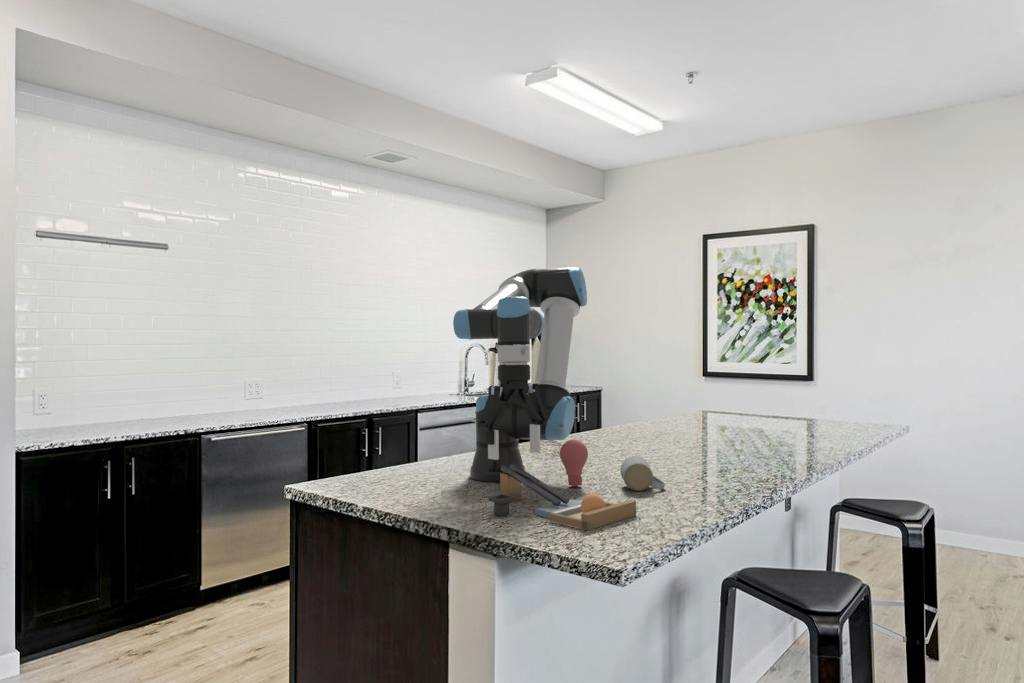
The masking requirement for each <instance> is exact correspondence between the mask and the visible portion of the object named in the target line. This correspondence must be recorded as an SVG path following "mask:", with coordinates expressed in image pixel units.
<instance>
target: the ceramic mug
mask: <svg viewBox="0 0 1024 683" xmlns="http://www.w3.org/2000/svg"><path fill="white" fill-rule="evenodd" d="M651 468H652V467H651V465H650V464H649V462H648V461H647V460H646V459H645V458H644V457H642V456H640V455H631V456H629V457H627V458H625V459H624V460H623V461H622V463H621V465H620V475H621V478H622V480H623V482H624V484H625V486H626V487H628V489H630V490H632V491H635V492H644V491H645V490H647V489H648V488H650V487H652V488H654V489H656V490H660V491H663V490H664V489H665V486H666V483H665V482H664V481H663V480H661V479H659V478H658V477H656V476H654V474H653V470H652V469H651Z"/></svg>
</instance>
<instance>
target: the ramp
mask: <svg viewBox="0 0 1024 683" xmlns="http://www.w3.org/2000/svg"><path fill="white" fill-rule="evenodd" d="M501 470H502V471H503V472H504V473H500V482H499V483H500V484H499V487H500V488H499V490H500V492H499V493H500V494H504V495H509V496H513V497H515V501H519V500H522V485H523V486H525V487H526V488H528V489H530V490H531V491H533V492H534V493H535V494H537V495H538V496H540V497H542V498H544V499H545V500H547V501H548V502H550V503H551V504H554V505H556V506H559V505H560V503H561V502H563V503H565V504H567V503H568V502H569V500H570V498H569V497H567V496H565V495H564V494H563V493H560V492H559V491H558V490H556V489H554V488H553V487H552V486H550V485H548V484H546V482H544V481H541V479H538V478H537V477H536V476H534V475H533V474H530V472H528V471H526V470H525V471H524V470H523V469H521V468H519V467H518V466H516V465H515V464H513V463H512V464H511V465H510V466H509V468H508V467H507V466H505V465H502V467H501ZM500 494H499V495H500ZM515 501H514V502H515Z"/></svg>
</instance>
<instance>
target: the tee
mask: <svg viewBox="0 0 1024 683" xmlns="http://www.w3.org/2000/svg"><path fill="white" fill-rule="evenodd" d="M487 498H488V499H487V500H488V502H491V503H494V504H493V507H494V508H493V510H494V511H493V516H495V515H496V516H495V517H497V516H506V517H508V516H507V515H509V516H510V502H511V503H512V502H515V497H513V496H509V495H504V494H497V495H496V494H495V495H491V496H489V497H487Z"/></svg>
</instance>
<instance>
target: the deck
mask: <svg viewBox="0 0 1024 683" xmlns="http://www.w3.org/2000/svg"><path fill="white" fill-rule="evenodd" d="M581 503H582V500H581V501H580V500H575V499H569V502H568V503H567V504H565V503H563V502H561V503H560V505H559V506H556V505H554V504H553V503H551V504H549V505H545V506H541V507H537V508H535V509H534V515H535V516H538V517H539V516H540V517H543V518H548V519H550V513H556V514H561V515H565V516H567V515H571V514H575V513H578V512H582V509H581Z"/></svg>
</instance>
